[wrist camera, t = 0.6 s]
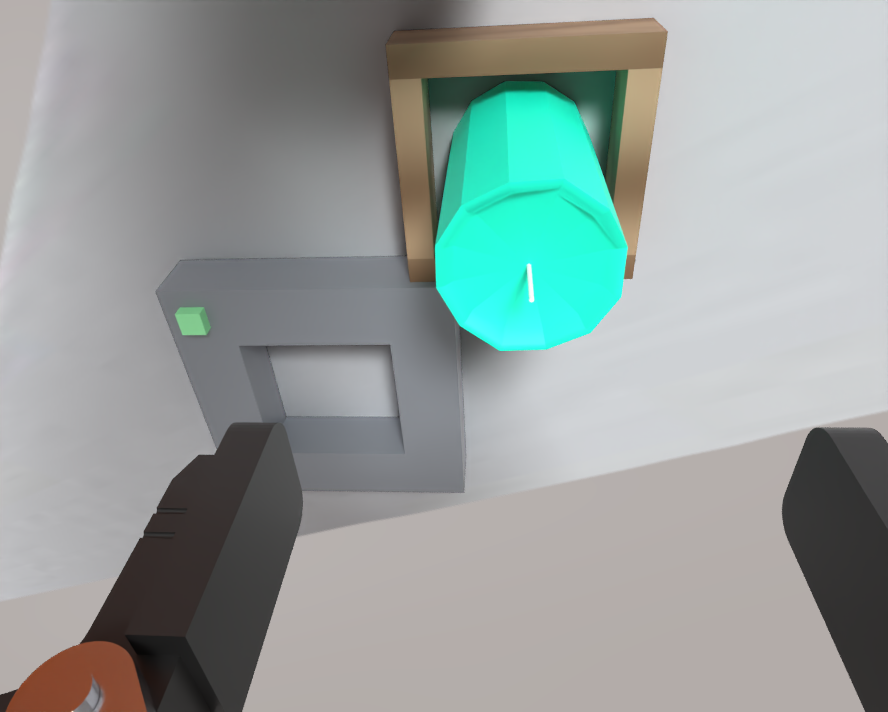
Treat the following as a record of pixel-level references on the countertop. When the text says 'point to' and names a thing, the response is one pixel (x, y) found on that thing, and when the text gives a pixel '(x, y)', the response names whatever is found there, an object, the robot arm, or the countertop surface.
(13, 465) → the countertop surface
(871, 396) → the countertop surface
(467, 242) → the candle
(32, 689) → the robot arm
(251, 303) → the frame
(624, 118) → the holder ring
